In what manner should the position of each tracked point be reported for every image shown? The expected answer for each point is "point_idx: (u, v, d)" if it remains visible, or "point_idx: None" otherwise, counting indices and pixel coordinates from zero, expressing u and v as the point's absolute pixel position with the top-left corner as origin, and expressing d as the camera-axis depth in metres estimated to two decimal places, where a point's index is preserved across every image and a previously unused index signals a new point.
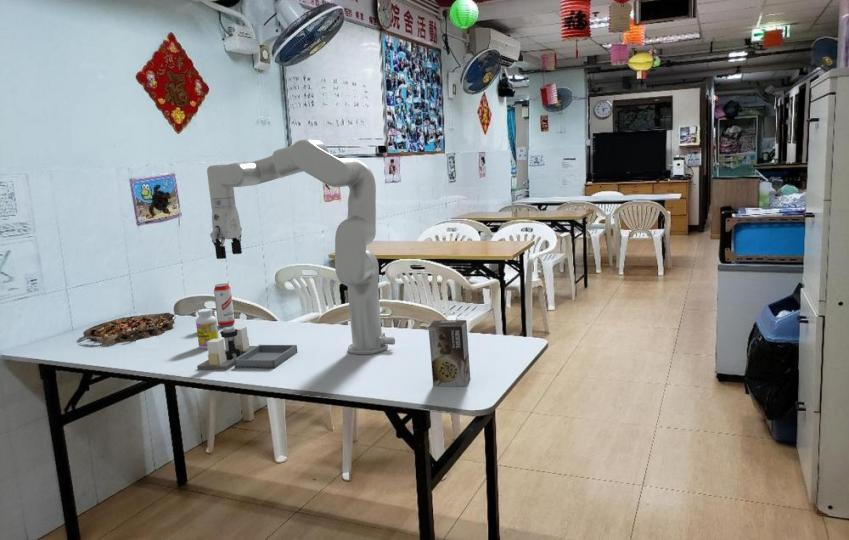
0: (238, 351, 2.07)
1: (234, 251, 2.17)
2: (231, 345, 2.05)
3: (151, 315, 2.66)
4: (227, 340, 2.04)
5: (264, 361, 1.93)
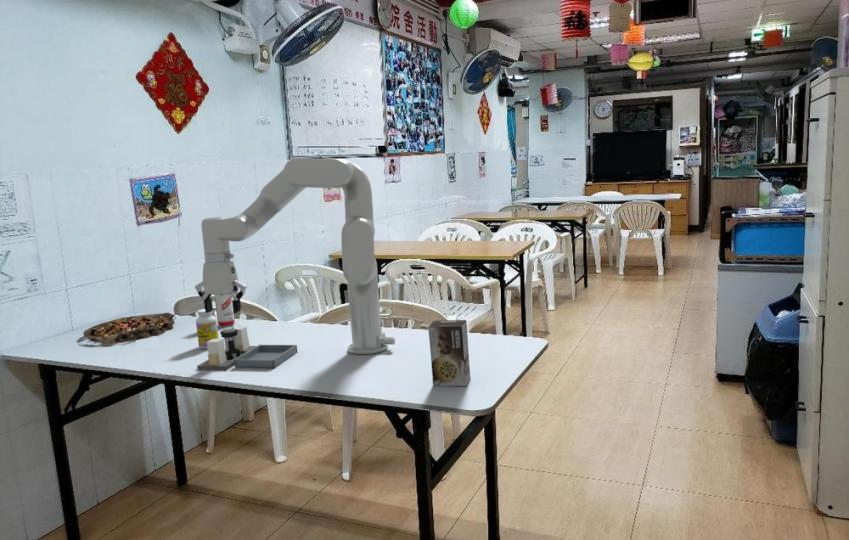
0: (238, 351, 2.07)
1: (209, 309, 2.04)
2: (231, 345, 2.05)
3: (151, 315, 2.66)
4: (227, 340, 2.04)
5: (264, 361, 1.93)
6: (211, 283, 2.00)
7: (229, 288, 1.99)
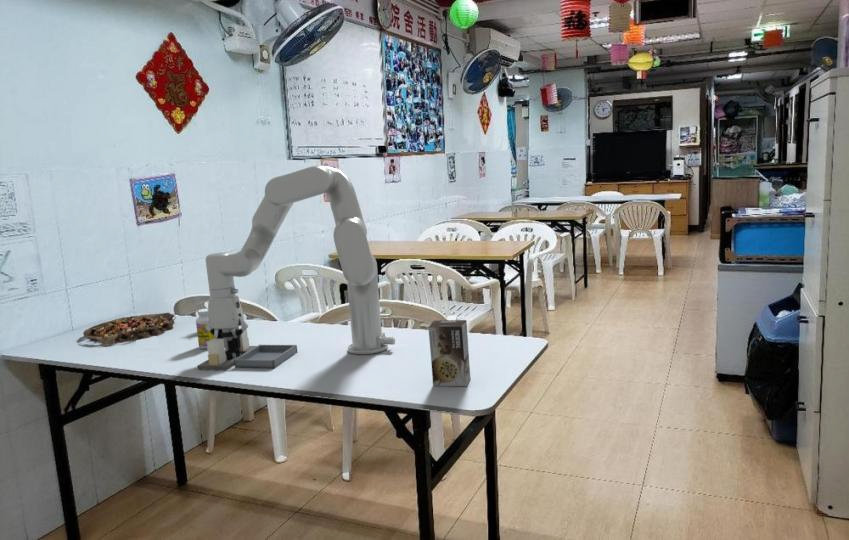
0: (238, 351, 2.07)
1: None
2: (231, 345, 2.05)
3: (151, 315, 2.66)
4: (226, 340, 2.04)
5: (264, 361, 1.93)
6: (216, 318, 2.02)
7: (234, 323, 2.01)
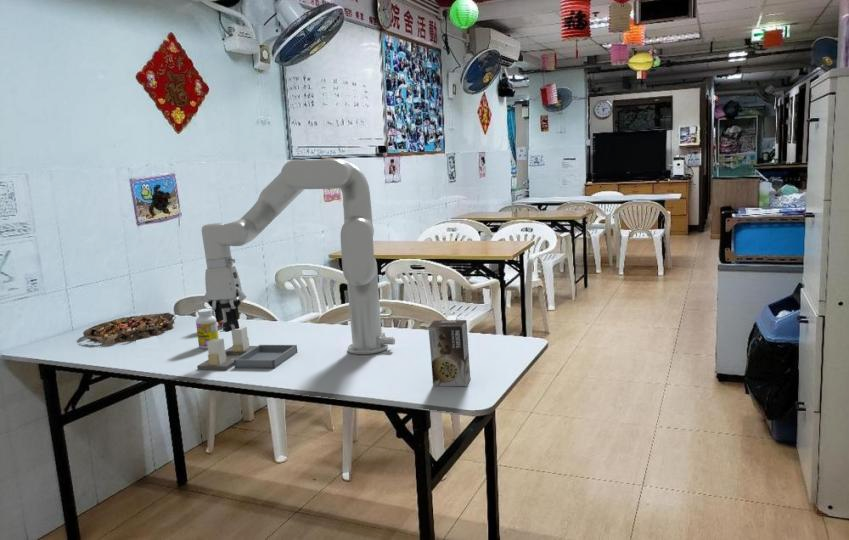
0: (236, 322, 2.05)
1: (219, 318, 2.04)
2: (229, 316, 2.03)
3: (151, 315, 2.66)
4: (225, 311, 2.03)
5: (264, 361, 1.93)
6: (214, 289, 2.00)
7: (232, 293, 1.99)
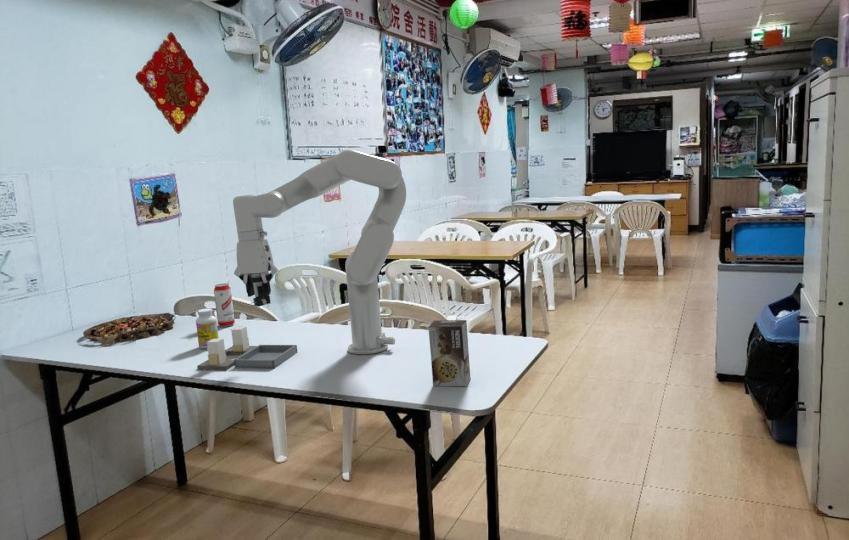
0: (268, 297, 2.00)
1: (251, 293, 1.99)
2: (260, 290, 1.99)
3: (151, 315, 2.66)
4: (256, 285, 1.98)
5: (264, 361, 1.93)
6: (245, 262, 1.95)
7: (264, 266, 1.95)
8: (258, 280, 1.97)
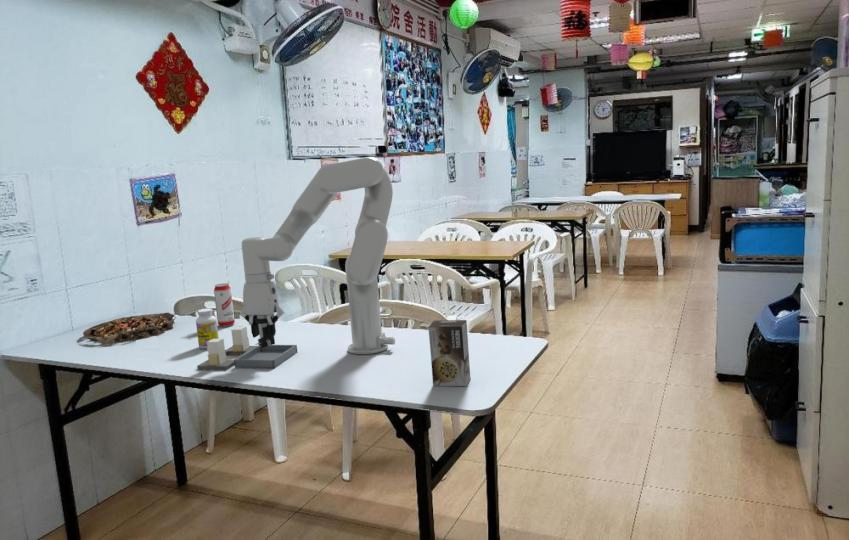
0: (272, 338, 2.02)
1: (256, 334, 2.01)
2: (265, 332, 2.00)
3: (151, 315, 2.66)
4: (261, 326, 2.00)
5: (264, 361, 1.93)
6: (252, 304, 1.97)
7: (270, 309, 1.96)
8: (264, 322, 1.98)
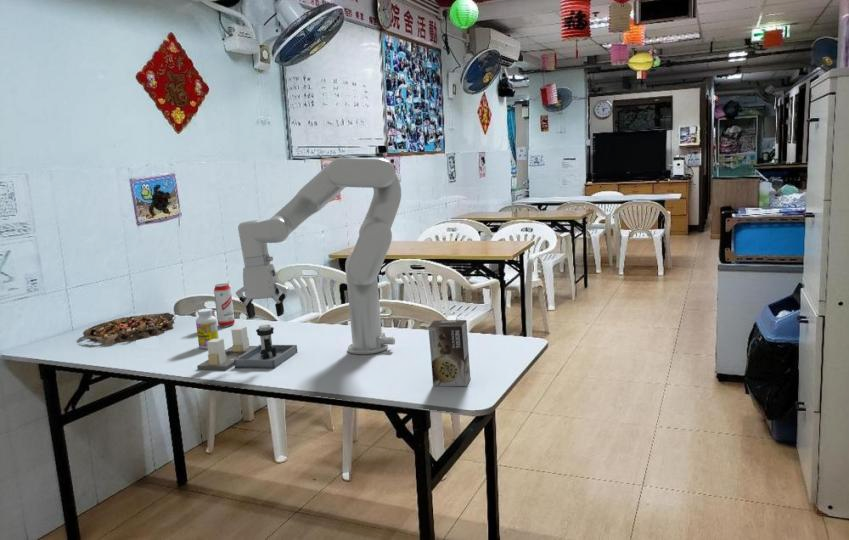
0: (274, 350, 2.03)
1: (251, 314, 2.00)
2: (267, 343, 2.01)
3: (151, 315, 2.66)
4: (263, 338, 2.01)
5: (264, 361, 1.93)
6: (252, 288, 1.97)
7: (271, 291, 1.96)
8: (265, 334, 1.99)
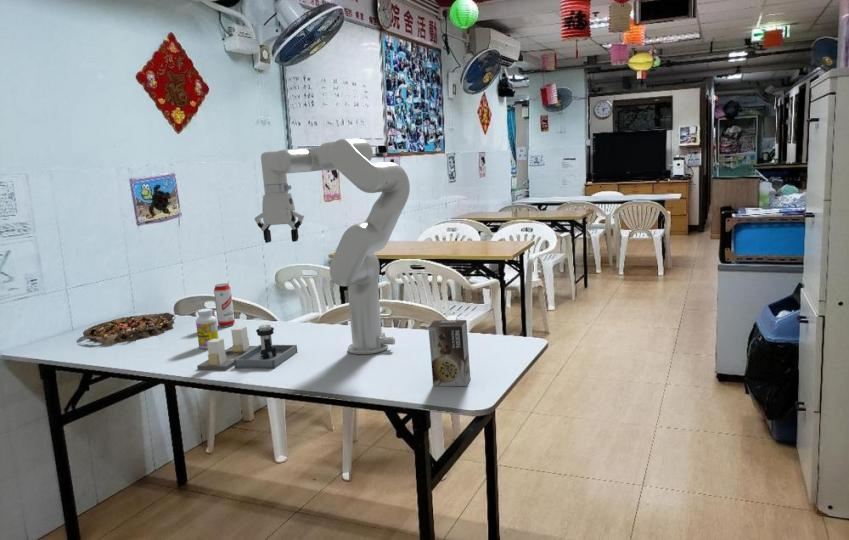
0: (274, 350, 2.03)
1: (268, 239, 2.16)
2: (267, 343, 2.01)
3: (151, 315, 2.66)
4: (263, 338, 2.01)
5: (264, 361, 1.93)
6: (271, 213, 2.12)
7: (288, 217, 2.12)
8: (266, 334, 1.99)
